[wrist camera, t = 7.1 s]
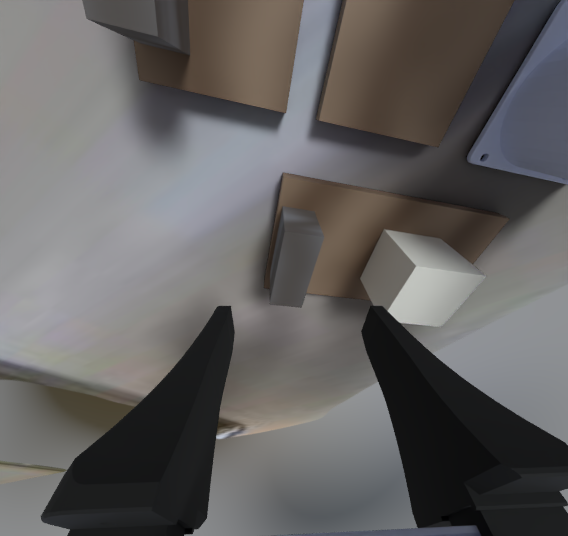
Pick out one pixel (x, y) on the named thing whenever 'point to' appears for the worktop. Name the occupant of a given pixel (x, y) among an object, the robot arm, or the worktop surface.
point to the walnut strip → (355, 235)
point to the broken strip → (342, 64)
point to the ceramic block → (418, 278)
